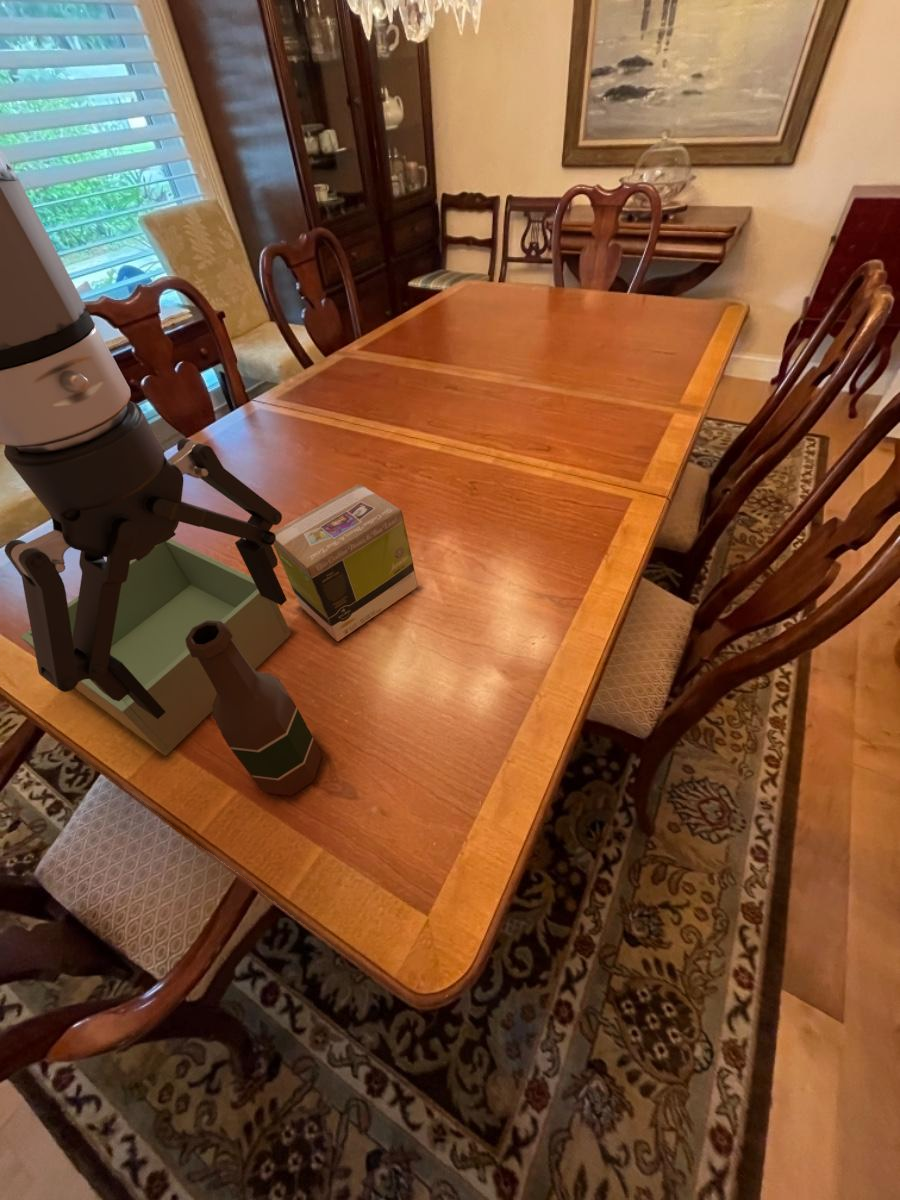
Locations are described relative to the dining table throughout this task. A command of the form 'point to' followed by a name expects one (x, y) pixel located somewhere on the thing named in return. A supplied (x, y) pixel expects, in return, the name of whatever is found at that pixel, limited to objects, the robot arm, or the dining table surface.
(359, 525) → the tea box
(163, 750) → the open storage bin
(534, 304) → the dining table surface
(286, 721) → the beer bottle
